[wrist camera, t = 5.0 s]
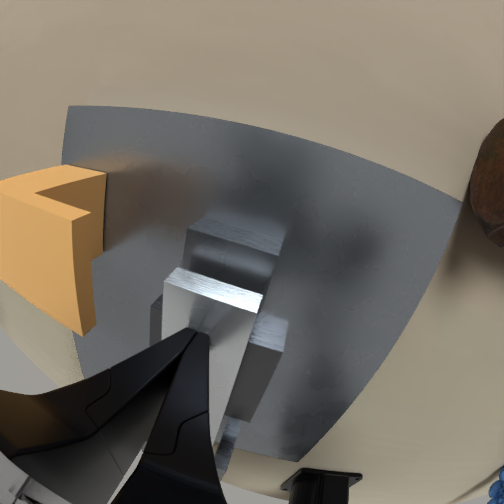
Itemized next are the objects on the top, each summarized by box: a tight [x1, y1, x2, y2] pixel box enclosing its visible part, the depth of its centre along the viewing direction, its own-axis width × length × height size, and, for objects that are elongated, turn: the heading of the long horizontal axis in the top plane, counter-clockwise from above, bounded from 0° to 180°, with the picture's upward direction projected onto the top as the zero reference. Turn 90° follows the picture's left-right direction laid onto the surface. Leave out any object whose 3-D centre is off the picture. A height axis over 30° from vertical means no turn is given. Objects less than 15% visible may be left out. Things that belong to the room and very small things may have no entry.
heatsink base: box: [61, 106, 463, 481], centre depth 12 cm, size 20×18×5 cm
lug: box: [0, 165, 107, 337], centre depth 9 cm, size 4×6×5 cm, turn 76°
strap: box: [161, 267, 263, 447], centre depth 12 cm, size 14×3×1 cm, turn 166°
